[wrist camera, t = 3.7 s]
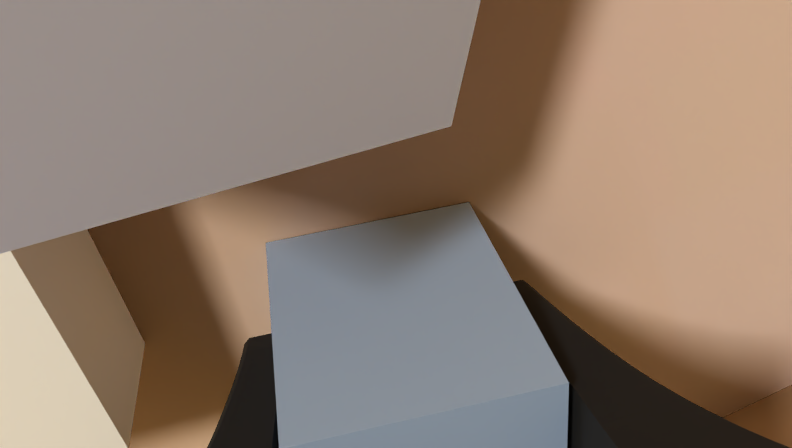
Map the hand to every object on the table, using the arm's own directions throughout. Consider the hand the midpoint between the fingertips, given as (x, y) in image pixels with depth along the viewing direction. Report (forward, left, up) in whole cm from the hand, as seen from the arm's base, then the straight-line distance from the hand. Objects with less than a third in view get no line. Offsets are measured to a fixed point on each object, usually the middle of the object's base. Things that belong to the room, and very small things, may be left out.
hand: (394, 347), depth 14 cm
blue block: (0, 0, -1) cm, 1 cm away
